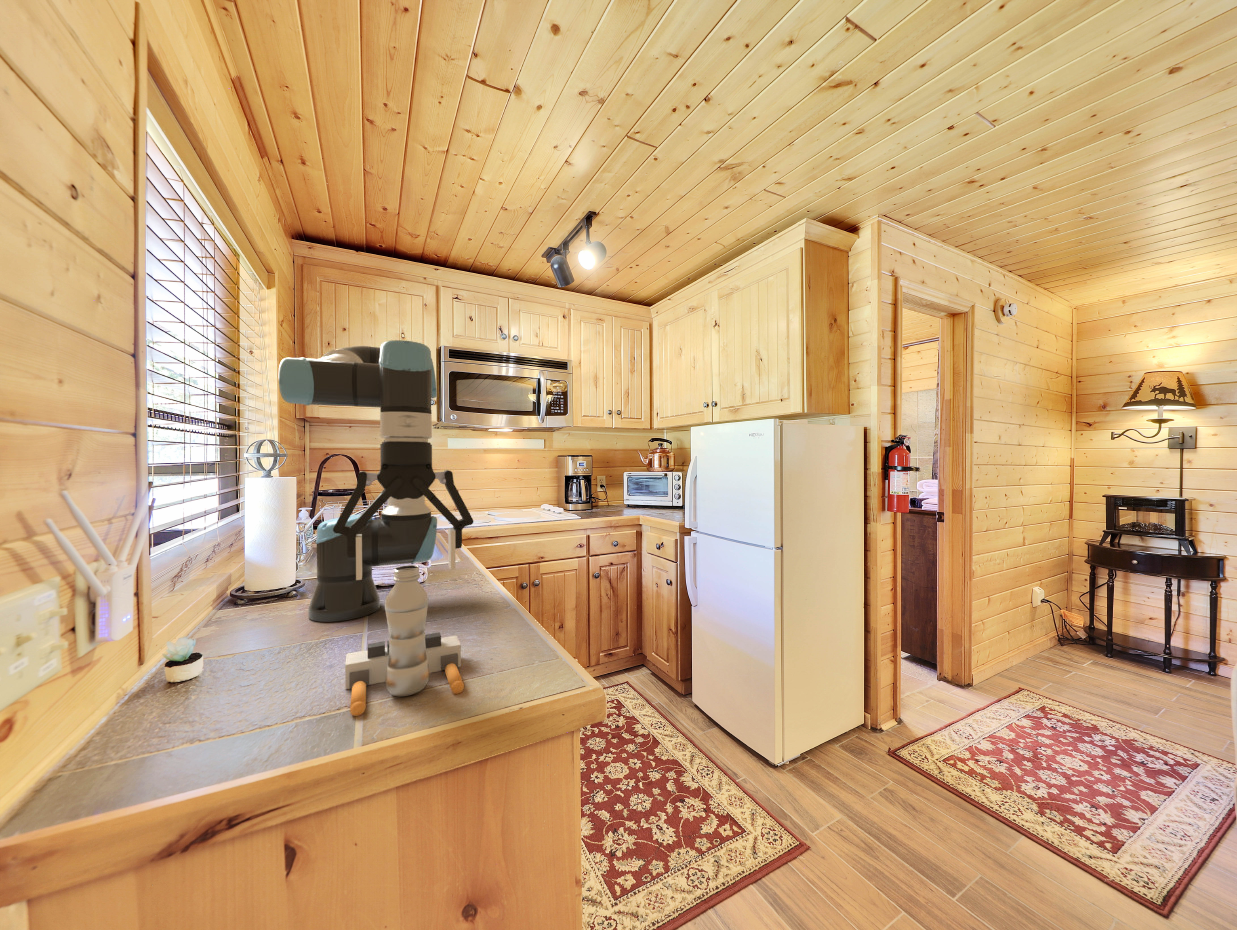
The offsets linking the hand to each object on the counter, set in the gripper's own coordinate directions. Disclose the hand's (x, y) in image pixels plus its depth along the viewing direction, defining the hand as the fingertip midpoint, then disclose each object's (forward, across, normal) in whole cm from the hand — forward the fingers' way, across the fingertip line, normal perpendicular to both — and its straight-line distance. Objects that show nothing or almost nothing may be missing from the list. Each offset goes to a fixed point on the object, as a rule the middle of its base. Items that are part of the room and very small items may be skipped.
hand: (407, 573), depth 76 cm
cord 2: (+19, +7, -1) cm, 21 cm away
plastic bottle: (+19, 0, 0) cm, 19 cm away
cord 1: (+19, -7, -1) cm, 21 cm away
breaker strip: (+19, 0, +8) cm, 21 cm away
